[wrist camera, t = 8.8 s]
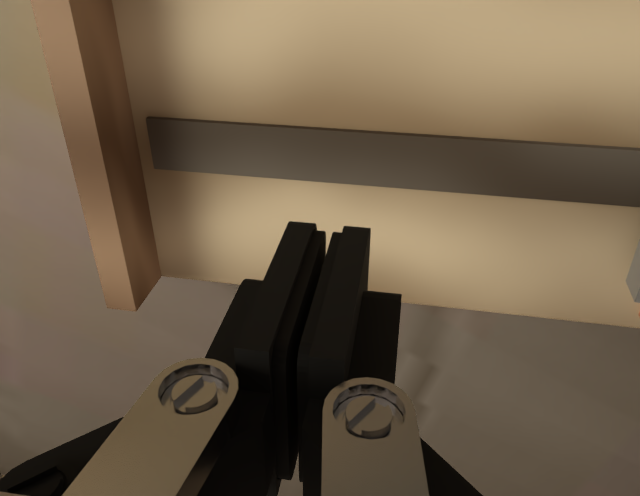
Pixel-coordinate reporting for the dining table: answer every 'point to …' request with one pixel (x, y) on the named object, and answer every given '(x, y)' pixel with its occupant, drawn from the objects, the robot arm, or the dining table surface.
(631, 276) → the fader knob
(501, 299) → the fader track
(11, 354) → the dining table surface
